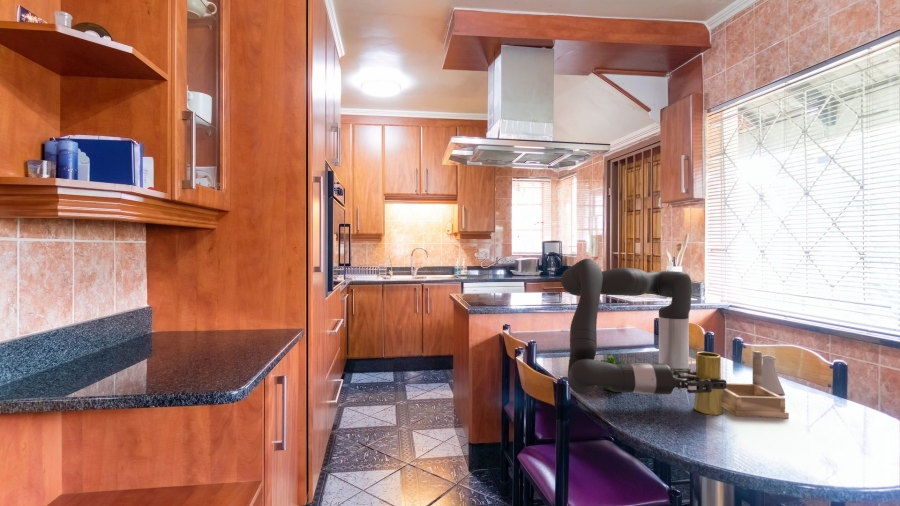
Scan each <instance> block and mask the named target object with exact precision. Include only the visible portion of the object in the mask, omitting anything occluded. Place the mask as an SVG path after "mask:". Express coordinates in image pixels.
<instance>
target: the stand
mask: <svg viewBox="0 0 900 506" xmlns="http://www.w3.org/2000/svg"><path fill="white" fill-rule="evenodd" d="M762 356H763V353H762V351H759V350H752V383H736V382H735V383H734V382H733V383H729V382H728V383H727V382H726V389H721V407H722V408H723V407H724V408H723V409H724V410H726V411H727V412H729V413H731V414H733V415H734V416H735V417H748V416H762V417H761V418H776V417H783V419H788V418H789V419H790V417H789V416H790V413H789V412H788V411H786V398H785V397H783V396H781V395H780V394H779V395H777V394H775V393H773V392H771V391H769V390H767V389H765V388H763V387H762V364H763V358H762Z"/></svg>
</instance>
